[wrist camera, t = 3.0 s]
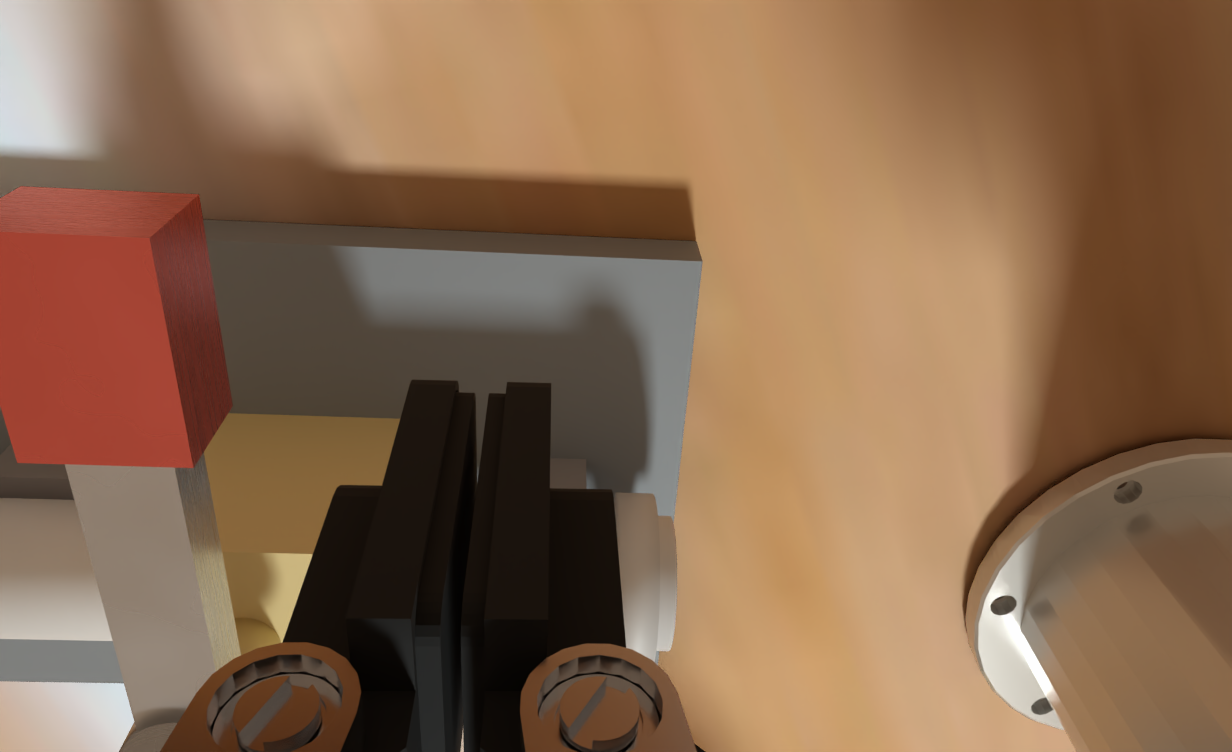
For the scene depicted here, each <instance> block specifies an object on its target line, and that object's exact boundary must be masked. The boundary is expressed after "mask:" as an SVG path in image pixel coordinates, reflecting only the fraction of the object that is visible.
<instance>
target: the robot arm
mask: <svg viewBox="0 0 1232 752" xmlns="http://www.w3.org/2000/svg"><path fill="white" fill-rule="evenodd" d="M550 445H551V383H535V382H507V386H506V394H505V393H489V396H488V403H487V411H486V419H485V427H484V435H483V442H482V450H481V458H480V466H479V474H478V482H477V438H476V396H475V393H464V392H459V384H458V381H455V380H414V379H413V380H411V382H410V385H409V389H408V392H407V396H406V400H405V403H404V407H403V411H402V414H401V418H400V422H399V425H398V429H397V432H396V436H395V440H394V443H393V447H392V451H391V454H390V458H389V462H388V465H387V469H386V473H385V476H384V480H383V483H382V486H379V485H340V486H338V487H337V488H336V490H335V493H334V495H333V497H332V500H331V503H330V506H329V509H328V512H327V515H326V517H325V520H324V523H323V526H322V529H321V532H320V535H319V538H318V541H317V544H316V546H315V549H314V552H313V555H312V558H311V561H310V564H309V567H308V570H307V573H306V575H305V578H304V581H303V584H302V587H301V590H300V593H299V596H298V599H297V602H296V604H295V607H294V610H293V613H292V616H291V619H290V622H289V625H288V628H287V631H286V633H285V636H284V639H283V642H282V643H278V644H274V645H269V646H265V647H260V648H257V649H254V650H252V651H250V652H248V653H245V654H243V655H241V656H239V657H236V658H234V659H232V660H231V661H230V662H228V663H227V664H225V665H224V666H223V667H221V668H220V669H219V670H217V671H216V672H215V673H213V674H212V675H211V676H210V677H209V678H208V680H207V681H206V682H205V683H204V684H203V686H202V687H201V688H200V689H199V690H198V692H197V693H196V694H195V696H194V697H193V699H192V701H191V702H190V704H189V706H188V707H187V709H186V710H185V712H184V714H183V715H182V717H181V718H180V720H179V722H178V723H177V725H176V726H175V728H174V730H173V731H172V733H171V734H170V736H169V738H168V739H167V741H166V743H165V744H164V746H163V747H162V749H161V751H160V752H460V748H461V739H462V730H463V732H464V752H705V751H703V750H702V749H701V748H699V747H698V746H697V745H695V744H694V742H693V739H692V735H691V732H690V729H689V726H688V723H687V720H686V717H685V714H684V711H683V708H682V705H681V702H680V699H679V696H678V693H677V691H676V689H675V687H674V686H673V684H672V682H671V680H670V678H669V676H668V675H667V674H666V673H665V672H664V671H663V670H662V669H661V668H660V667H659V666H658V665H657V664H656V663H655V662H654V661H653V660H651V659H649V658H647V657H646V656H644V655H642V654H640V653H638V652H636V651H634V650H632V649H629V648H626V638H625V626H624V614H623V602H622V590H621V578H620V566H619V554H618V542H617V531H616V519H615V507H614V497H613V491H612V489H562V488H550ZM965 621H966V628H967V636H968V643H969V645H970V648H971V650H972V652H973V655H974V657H975V659H976V662H977V664H978V666H979V668H980V671H981V672H982V674H983V676H984V677H985V679H986V681H987V682H988V684H989V685H990V687H991V689H992V690H993V691H994V692H995V693H996V694H997V695H998V696H999V697H1000V698H1001V699H1002V700H1003V701H1004V702H1005V703H1006V704H1007V705H1008V706H1009V707H1010V708H1012V709H1014V710H1015V711H1017V712H1019V713H1020V714H1022V715H1023V716H1025V717H1027V718H1029V719H1031V720H1033V721H1036V722H1039V723H1042V724H1045V725H1048V726H1051V727H1054V728H1057V729H1062V730H1065V732H1066V734H1067V735H1068V737H1069V739H1070V741H1071V743H1072V744H1073V746H1074V748H1075V750H1076V752H1232V440H1222V439H1188V440H1180V441H1172V442H1164V443H1156V444H1153V445H1149V446H1145V447H1142V448H1138V449H1135V450H1131V451H1127V452H1124V453H1120V454H1117V455H1115V456H1112V457H1110V458H1108V459H1106V460H1103V461H1101V462H1099V463H1096V464H1094V465H1092V466H1089V467H1087V468H1085V469H1082V470H1080V471H1079V472H1077V473H1075V474H1074V475H1072V476H1070V477H1069V478H1067V479H1065V480H1064V481H1062V482H1061V483H1059V484H1057V485H1056V486H1054V487H1052V488H1051V489H1049V490H1047V491H1046V492H1045V493H1044V494H1042V495H1041V496H1040V497H1039V498H1038V499H1036V500H1035V501H1034V502H1033V503H1031V504H1030V505H1029V506H1028V507H1027V508H1025V509H1024V510H1023V511H1022V512H1020V513H1019V514H1018V515H1017V516H1016V518H1015V519H1014V520H1013V521H1012V522H1011V523H1010V524H1009V525H1008V526H1007V528H1006V529H1005V530H1004V531H1003V532H1002V533H1001V534H1000V535H999V536H998V538H997V539H996V540H995V541H994V543H993V545H992V546H991V548H990V549H989V551H988V553H987V554H986V556H985V557H984V559H983V561H982V562H981V564H980V565H979V567H978V570H977V573H976V575H975V578H974V581H973V583H972V586H971V589H970V591H969V595H968V602H967V610H966V618H965Z"/></svg>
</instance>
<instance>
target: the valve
mask: <svg viewBox="0 0 1232 752" xmlns="http://www.w3.org/2000/svg"><path fill="white" fill-rule="evenodd" d="M203 223H204V229H205V235H206V241H207V247H208V254H209V260H210V266H211V272H212V279H213V285H214V291H215V297H216V303H217V310H218V316H219V322H220V328H221V334H222V341H223V347H224V353H225V359H226V366H227V372H228V378H229V384H230V390H231V397H232V403H233V407H232V408H231V410H230V411H229V413H228V414H227V416H226V418H225V419H224V421H223V422H222V424H221V426H220V427H219V429H218V430H217V432H216V433H215V435H214V437H213V438H212V440H211V441H210V443H209V444H208V446H207V448H206V449H205V451H204V456H205V462H206V467H207V472H208V478H209V483H210V489H211V494H212V500H213V505H214V511H215V516H216V521H217V527H218V532H219V538H220V543H221V549H222V554H223V560H224V565H225V571H226V576H227V581H228V587H229V592H230V598H231V603H232V609H233V614H234V620H235V625H236V630H237V636H238V641H239V647H240V652H241V655H243V654H245V653H248V652H250V651H252V650H254V649H257V648H260V647H265V646H269V645H274V644H278V643H282V642H283V639H284V636H285V633H286V631H287V628H288V625H289V622H290V619H291V616H292V613H293V610H294V607H295V604H296V602H297V599H298V596H299V593H300V590H301V587H302V584H303V581H304V578H305V575H306V573H307V570H308V567H309V564H310V561H311V558H312V555H313V552H314V549H315V546H316V544H317V541H318V538H319V535H320V532H321V529H322V526H323V523H324V520H325V517H326V515H327V512H328V509H329V506H330V503H331V500H332V497H333V495H334V493H335V490H336V488H337V487H338V486H340V485H379V486H382V483H383V480H384V476H385V473H386V469H387V465H388V462H389V458H390V454H391V451H392V447H393V443H394V440H395V436H396V432H397V429H398V425H399V422H400V418H401V414H402V411H403V407H404V403H405V400H406V396H407V392H408V389H409V385H410V382H411V380H413V379H414V380H455V381H458V384H459V392H464V393H475V396H476V438H477V482H478V474H479V466H480V458H481V450H482V442H483V435H484V427H485V419H486V411H487V403H488V396H489V393H505V394H506V386H507V382H535V383H551V445H550V488H562V489H612V491H613V497H614V507H615V519H616V531H617V542H618V554H619V566H620V578H621V590H622V602H623V614H624V626H625V638H626V648H629V649H632V650H634V651H636V652H638V653H640V654H642V655H644V656H646V657H647V658H649V659H651V660H653V661H654V662H655V663H656V664H657V665H658V658H659V651H670V649H671V646H672V642H673V637H674V630H675V620H676V604H677V553H676V539H675V530H674V524H673V523H674V514H675V505H676V496H677V487H678V478H679V468H680V459H681V450H682V441H683V432H684V423H685V414H686V405H687V396H688V387H689V378H690V369H691V360H692V351H693V342H694V333H695V324H696V315H697V306H698V297H699V288H700V279H701V270H702V258H701V255H700V252H699V248H698V245H697V242H696V241H679V240H657V239H634V238H611V237H589V236H566V235H543V234H521V233H498V232H475V231H453V230H430V229H407V228H385V227H362V226H339V225H317V224H294V223H271V222H249V221H226V220H203ZM0 681H21V682H84V683H124V681H123V677H122V674H121V670H120V666H119V663H118V659H117V655H116V651H115V648H114V644H113V640H112V637H111V633H110V629H109V626H108V622H107V618H106V615H105V611H104V607H103V604H102V600H101V596H100V592H99V589H98V585H97V581H96V578H95V574H94V570H93V567H92V563H91V559H90V556H89V552H88V548H87V545H86V541H85V537H84V534H83V530H82V526H81V522H80V519H79V515H78V511H77V508H76V504H75V500H74V497H73V493H72V489H71V486H70V482H69V478H68V475H67V471H66V467H65V464H35V463H17V460H16V457H15V454H14V450H13V447H12V444H11V440H10V437H9V434H8V430H7V427H6V424H5V420H4V417H3V414H2V410H1V407H0Z"/></svg>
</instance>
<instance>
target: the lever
mask: <svg viewBox="0 0 1232 752" xmlns="http://www.w3.org/2000/svg"><path fill="white" fill-rule="evenodd" d="M0 407H1V410H2V414H3V417H4V420H5V424H6V427H7V430H8V434H9V437H10V440H11V444H12V447H13V450H14V454H15V457H16V460H17V463H35V464H65V467H66V471H67V475H68V478H69V482H70V486H71V489H72V493H73V497H74V500H75V504H76V508H77V511H78V515H79V519H80V522H81V526H82V530H83V534H84V537H85V541H86V545H87V548H88V552H89V556H90V559H91V563H92V567H93V570H94V574H95V578H96V581H97V585H98V589H99V592H100V596H101V600H102V604H103V607H104V611H105V615H106V618H107V622H108V626H109V629H110V633H111V637H112V640H113V644H114V648H115V651H116V655H117V659H118V663H119V666H120V670H121V674H122V677H123V681H124V685H125V688H126V692H127V696H128V699H129V703H130V707H131V710H132V714H133V718H134V724H133V726H132V728H131V730H130V731H129V733H128V735H127V737H126V739H125V741H124V743H123V745H122V747H121V749H120V751H119V752H160V751H161V749H162V747H163V746H164V744H165V743H166V741H167V739H168V738H169V736H170V734H171V733H172V731H173V730H174V728H175V726H176V725H177V723H178V722H179V720H180V718H181V717H182V715H183V714H184V712H185V710H186V709H187V707H188V706H189V704H190V702H191V701H192V699H193V697H194V696H195V694H196V693H197V692H198V690H199V689H200V688H201V687H202V686H203V684H204V683H205V682H206V681H207V680H208V678H209V677H210V676H211V675H212V674H213V673H215V672H216V671H217V670H219V669H220V668H221V667H223V666H224V665H225V664H227V663H228V662H230V661H231V660H232V659H234V658H236V657H239V656H241V652H240V647H239V641H238V636H237V630H236V625H235V620H234V614H233V609H232V603H231V598H230V592H229V587H228V581H227V576H226V571H225V565H224V560H223V554H222V549H221V543H220V538H219V532H218V527H217V521H216V516H215V511H214V505H213V500H212V494H211V489H210V483H209V478H208V472H207V467H206V462H205V456H204V451H205V449H206V448H207V446H208V444H209V443H210V441H211V440H212V438H213V437H214V435H215V433H216V432H217V430H218V429H219V427H220V426H221V424H222V422H223V421H224V419H225V418H226V416H227V414H228V413H229V411H230V410H231V408H232V407H233V403H232V397H231V390H230V384H229V378H228V372H227V366H226V359H225V353H224V347H223V341H222V334H221V328H220V322H219V316H218V310H217V303H216V297H215V291H214V285H213V279H212V272H211V266H210V260H209V254H208V247H207V241H206V235H205V229H204V223H203V216H202V210H201V204H200V198H199V194H179V193H157V192H135V191H113V190H91V189H69V188H47V187H25V186H20V187H19V188H17V189H15V190H14V191H12V192H10V193H8V194H7V195H5V196H3V197H2V198H0Z"/></svg>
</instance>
